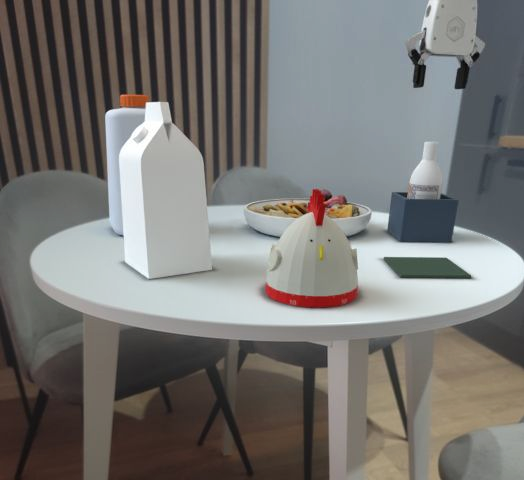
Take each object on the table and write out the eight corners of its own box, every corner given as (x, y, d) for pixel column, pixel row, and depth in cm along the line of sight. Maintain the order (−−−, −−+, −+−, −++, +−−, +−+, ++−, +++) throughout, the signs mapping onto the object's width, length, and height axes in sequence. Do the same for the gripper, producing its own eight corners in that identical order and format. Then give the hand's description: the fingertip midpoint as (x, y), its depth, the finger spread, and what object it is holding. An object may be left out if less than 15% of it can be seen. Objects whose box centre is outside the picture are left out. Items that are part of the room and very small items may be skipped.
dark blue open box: (434, 231, 119) (440, 192, 115) (451, 242, 109) (459, 199, 105) (387, 231, 119) (391, 192, 115) (399, 241, 108) (405, 199, 105)
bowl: (354, 248, 102) (358, 209, 99) (222, 235, 112) (222, 199, 108) (379, 223, 127) (383, 191, 124) (270, 214, 137) (271, 184, 134)
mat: (445, 260, 95) (446, 257, 94) (470, 278, 84) (471, 275, 84) (383, 259, 94) (383, 256, 94) (400, 277, 84) (400, 274, 83)
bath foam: (409, 231, 118) (422, 141, 110) (438, 236, 114) (453, 142, 106) (397, 236, 113) (409, 141, 105) (426, 241, 109) (441, 143, 101)
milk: (212, 269, 86) (207, 102, 75) (148, 279, 81) (133, 100, 70) (183, 254, 95) (176, 103, 84) (125, 262, 90) (108, 101, 79)
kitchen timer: (270, 308, 69) (273, 196, 63) (261, 279, 81) (262, 183, 75) (368, 306, 70) (380, 196, 64) (344, 278, 83) (352, 184, 76)
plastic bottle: (184, 234, 112) (178, 95, 100) (116, 238, 107) (100, 92, 95) (170, 222, 125) (163, 97, 113) (108, 225, 120) (93, 95, 108)
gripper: (423, -19, 91) (410, 86, 99) (505, -13, 95) (486, 88, 102) (403, -10, 98) (392, 88, 105) (481, -4, 102) (465, 90, 109)
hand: (439, 88), depth 104 cm, fingers open, 9 cm apart
